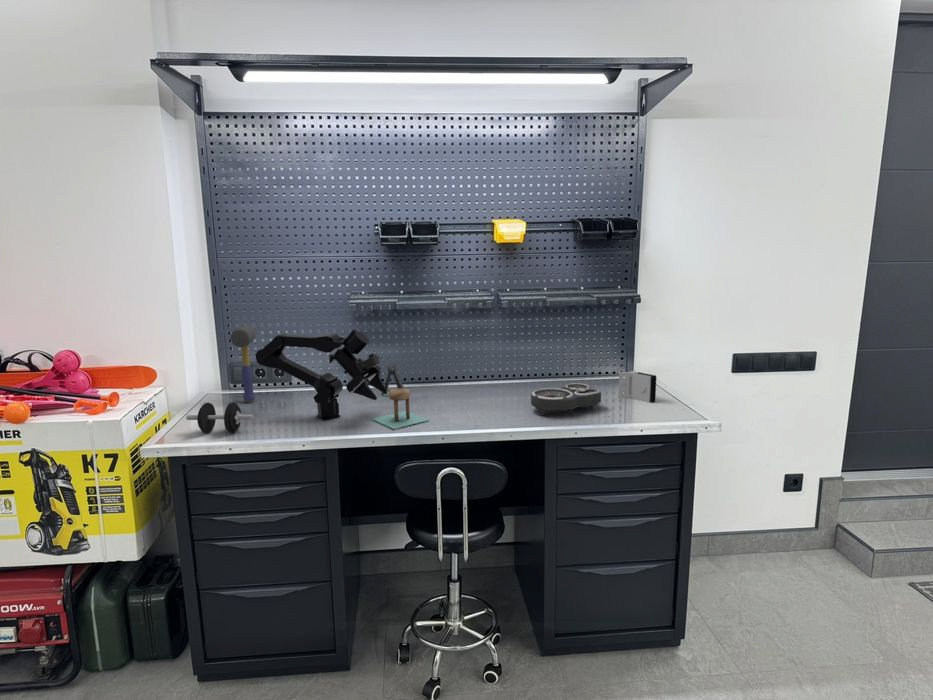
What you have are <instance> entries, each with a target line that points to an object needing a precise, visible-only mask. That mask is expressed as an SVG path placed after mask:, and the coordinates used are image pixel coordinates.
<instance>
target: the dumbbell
mask: <svg viewBox="0 0 933 700" xmlns="http://www.w3.org/2000/svg"><path fill="white" fill-rule="evenodd" d="M185 419H186V420H187V421H197V426H198V428H199V429H200V431H201V432H202V433H203V434H210V433H211V432H212V431H213V430H214V428H215V425H216V420H223V422H224V428H225V430H226V431H227V432H228V433H230V434H234V433H236V432H237V431H236V430H238V429H239V428H240V426H241V423H242V421H243V420H244V421H245V420H246V421H247V420H253V419H254V415H253V414H251V413H250V414H242V409H241V407H240V406H239V405H238V404H237V403H236V402H234V401H233V402H229V403H228V404H227V405H226V407H225V411H224V414H217V413H216V409H215V405H213V404H212V403H211V402H205V403H203V404H202V405H201V407H199V409H198V413H197V414H187V415H186V417H185ZM235 431H236V432H235ZM209 432H210V433H209Z"/></svg>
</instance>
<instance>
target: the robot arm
mask: <svg viewBox="0 0 933 700" xmlns="http://www.w3.org/2000/svg"><path fill="white" fill-rule="evenodd" d="M369 343H370V340H369V338H368V337H367V335H366V334H364V333H362V332H360V331H358V330H357V329H352V331H350V333H349V334H348V335H347V337H344V336H343V337H341V336H339V334H337V333H326V334H322V335H321V334H320V335H301V334H300V335H299V334H286V333H281V334H278V335H275V336H274V338H273V339H272V340H271V341H269V343H267V344H266V345H265V346H263V347H262V349H259V350H257V351H256V353H255V360H256V363H257V364H258V365H260V366H263V367H266V368H270V369H278V370H280V371H282V372H284V373H286V374H288V375H290V376H292V377H294V378H296V379H297V380H299V381H302V382H303V383H306V384H307V385H309V386H311V387H313V389H314V390H315V391H316V394H315V395H314V396H313V399H314V402H315V403H316V405H317V414H316V416H315V417H317V418H318V419H320V420H322V421H326V420H327V421H328V420H331V419H335V418H336V419H337V418H341V415H340V404H339V402H338V399H337V398H339V395H340V393H341V392H342V391H343V387H344V386H343V383H342V381H341V380H340V379H339V376H335V375H333V374H332V373H331V372H327V373H324V374H319V373H317V372H315V371H313V370H311V369H309V368H307V367H305V366H303V365H301V364H300V363H297V362H296V361H294V360H291V359H290V358H287V357H286V356H285V354H284V353H283V352H284V350H285V348H286V347H290V348H291V347H293V348H305V349H306V348H311V349H314V350H316V351H318V352H322V353H328V354H329V353H331V352H333V351H335V352H334V353H331V354H329V356H328V357H329V359H328V363H329V364H332V363H333V362H337V364H339V366H340V367H341V368H342V369H343V370H344V371H343V373H344V374H345V375H347V374H348V375H349V376H350V377H351V379H350V380H349V382H348V383H347V384H346V385H345V388H346V390H347V391H348V393H350V394H351V393H353V394H357V395H360V396H362V397H364V398H365V397H366V398H368V399H370V400H374V401H376V400H378V397H377V396H376V394H375V392H373V390H372V389H371V388H370V386H371V387H373V388H374V389H377V390H378V391H380V392H381V393H382V392H383V393H386V392H387V390H386V388H385V383H384V382H383V380H382V378H381V376H382V375H381V373H382V371H381V370H382V367H380V366H379V365H378V364H381V362H380V356H379V355H378V354H377V353H375V352H373V353H370V354H369V355H368V358H366V359H364V360H363V359H362V358H357V357H356V356H355V355H359V354H360V353H361V352H362V351H363V350H364V349H365V348H366V346H368V344H369ZM341 347H342V348H341ZM369 385H370V386H369Z"/></svg>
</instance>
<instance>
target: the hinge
mask: <svg viewBox="0 0 933 700" xmlns="http://www.w3.org/2000/svg"><path fill="white" fill-rule="evenodd" d="M623 377H624V378H623ZM656 387H657V376H656V374H652V373H645V372H643V371H638V372H637V371H633V370H631V371H629V372H628V371H627V372H626V371H625V372H624V371H619V372H618V393H617V394H618V395H617V397H618V399H633V400H636V401H641V402H645V403H649V404H650V403H651V404H653V403H656V397H657V395H656V393H657V392H656V391H657V388H656Z"/></svg>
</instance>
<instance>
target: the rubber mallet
mask: <svg viewBox="0 0 933 700" xmlns="http://www.w3.org/2000/svg"><path fill="white" fill-rule="evenodd" d="M256 335H257V334H256V329H255V328H254V327H253V326H252V325H249V324H245V325H240V326H238V327H237V328H235V329H234V330H233V331H232V332H231V334H230V342H231V343H232V345H234V346H235V347H237V348H241V349H240V350H241V359H242V360H241V361H242V366H241V379H242V383H243V392H244V393H243V400H244V402H246V403H247V404H248V403H250V404H251V403H252V402H254V401H255V394H254V388H253V387H254V386H253V376H254V375H253V371H252V366H251V363H250V355H249V354H250V353H249V345H250V344H251V343H252V342H253V341H254V340H255V339H256Z"/></svg>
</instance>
